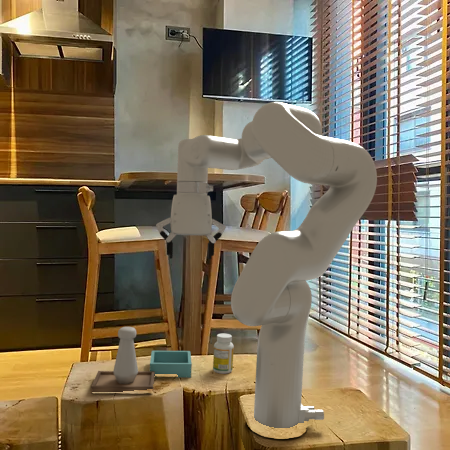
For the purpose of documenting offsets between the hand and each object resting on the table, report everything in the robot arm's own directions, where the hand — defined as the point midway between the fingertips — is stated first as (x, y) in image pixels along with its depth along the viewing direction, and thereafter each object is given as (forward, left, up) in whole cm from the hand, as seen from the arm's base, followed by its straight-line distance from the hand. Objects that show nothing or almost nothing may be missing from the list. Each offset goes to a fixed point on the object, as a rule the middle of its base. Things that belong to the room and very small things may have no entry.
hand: (190, 258), depth 121 cm
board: (+15, +4, -31) cm, 34 cm away
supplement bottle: (-10, -7, -31) cm, 34 cm away
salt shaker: (+15, +4, -30) cm, 34 cm away
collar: (+4, -7, -31) cm, 32 cm away
